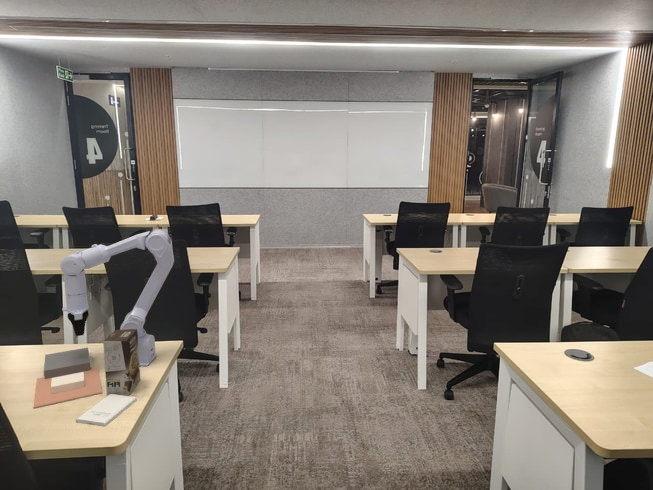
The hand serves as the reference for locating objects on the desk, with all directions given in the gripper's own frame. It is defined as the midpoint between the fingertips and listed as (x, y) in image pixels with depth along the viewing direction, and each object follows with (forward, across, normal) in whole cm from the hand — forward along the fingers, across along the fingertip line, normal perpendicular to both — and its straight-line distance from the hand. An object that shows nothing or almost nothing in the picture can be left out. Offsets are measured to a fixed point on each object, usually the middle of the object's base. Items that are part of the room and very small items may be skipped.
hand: (79, 334), depth 136 cm
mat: (+10, +13, -4) cm, 17 cm away
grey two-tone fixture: (+10, -1, -4) cm, 11 cm away
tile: (+8, +13, -4) cm, 16 cm away
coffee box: (+11, +22, +10) cm, 26 cm away
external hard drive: (+11, +32, +5) cm, 35 cm away
